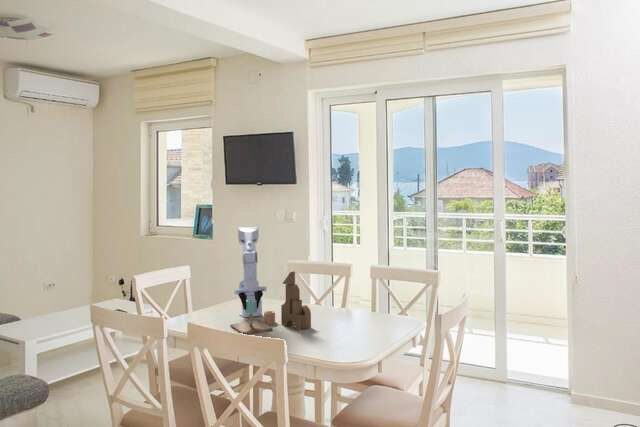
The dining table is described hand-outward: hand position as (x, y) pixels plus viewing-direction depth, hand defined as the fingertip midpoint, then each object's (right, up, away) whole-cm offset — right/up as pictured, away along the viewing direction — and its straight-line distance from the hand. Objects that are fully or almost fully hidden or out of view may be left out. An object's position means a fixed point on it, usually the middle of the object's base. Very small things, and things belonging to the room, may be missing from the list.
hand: (250, 308), depth 221 cm
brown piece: (0, -9, 0) cm, 9 cm away
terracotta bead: (+7, -9, +10) cm, 15 cm away
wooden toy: (+20, -9, +4) cm, 22 cm away
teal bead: (0, -2, 0) cm, 2 cm away
